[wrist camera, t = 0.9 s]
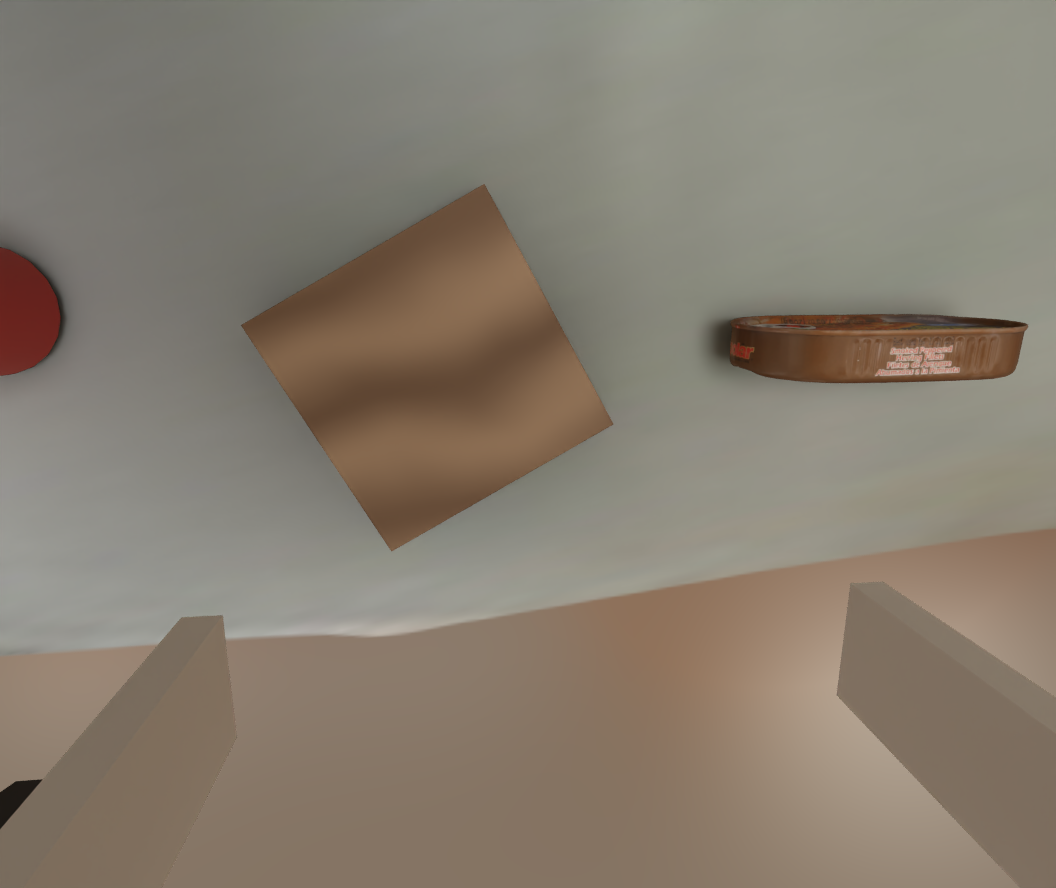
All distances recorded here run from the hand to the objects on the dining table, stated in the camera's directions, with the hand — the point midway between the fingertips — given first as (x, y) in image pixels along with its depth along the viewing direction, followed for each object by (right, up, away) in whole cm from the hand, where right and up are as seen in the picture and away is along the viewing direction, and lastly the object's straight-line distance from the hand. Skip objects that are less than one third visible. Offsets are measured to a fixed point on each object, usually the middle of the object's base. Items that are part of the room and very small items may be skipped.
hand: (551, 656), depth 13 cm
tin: (+17, +11, +25) cm, 32 cm away
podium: (-6, +9, +23) cm, 25 cm away
